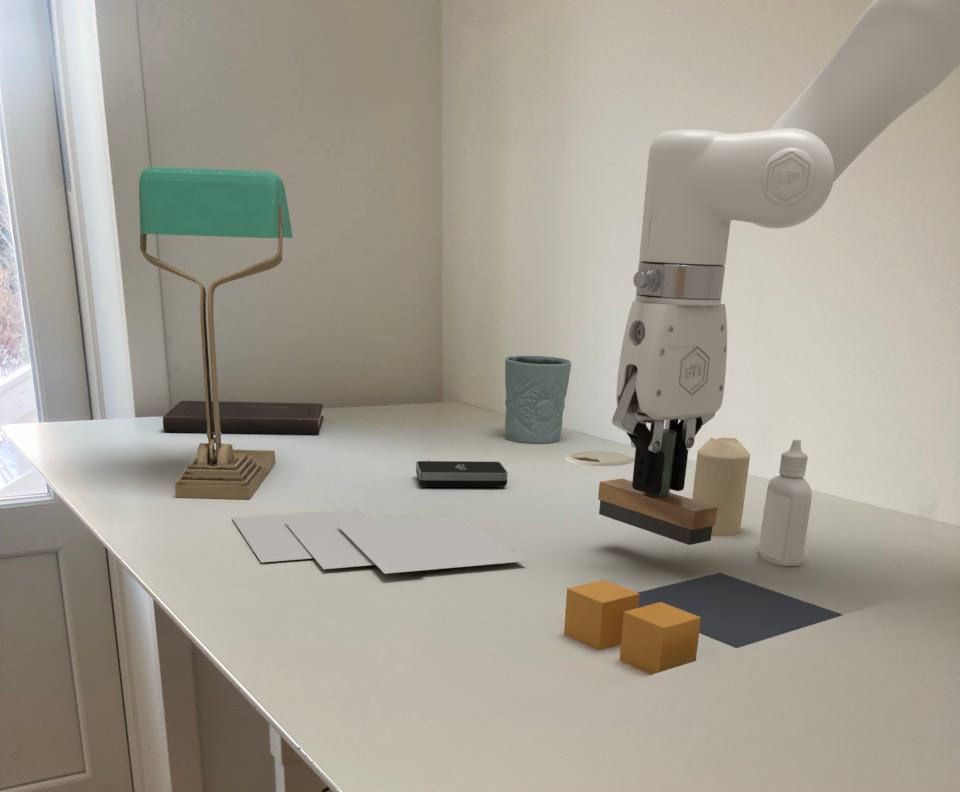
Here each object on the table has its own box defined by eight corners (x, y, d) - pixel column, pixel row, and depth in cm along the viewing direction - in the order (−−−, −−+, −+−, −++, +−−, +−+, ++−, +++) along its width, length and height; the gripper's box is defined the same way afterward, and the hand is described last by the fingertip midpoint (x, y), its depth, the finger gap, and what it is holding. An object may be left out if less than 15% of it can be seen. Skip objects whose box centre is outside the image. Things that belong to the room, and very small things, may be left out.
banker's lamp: (143, 496, 118) (113, 161, 105) (185, 459, 137) (164, 172, 124) (281, 499, 118) (268, 166, 105) (304, 462, 138) (295, 177, 125)
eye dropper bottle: (754, 564, 101) (771, 443, 96) (758, 549, 106) (775, 433, 101) (800, 570, 100) (820, 447, 95) (802, 555, 105) (821, 437, 100)
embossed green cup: (517, 430, 166) (521, 353, 161) (576, 437, 162) (581, 359, 157) (490, 439, 157) (493, 359, 153) (551, 447, 153) (556, 365, 149)
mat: (719, 574, 98) (719, 572, 98) (889, 632, 84) (889, 630, 84) (613, 600, 90) (613, 598, 90) (782, 668, 76) (783, 666, 76)
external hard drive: (415, 476, 132) (415, 460, 131) (500, 476, 134) (501, 461, 133) (419, 488, 126) (419, 472, 125) (508, 489, 127) (509, 473, 126)
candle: (730, 540, 109) (742, 446, 105) (681, 531, 112) (691, 439, 108) (746, 529, 113) (758, 438, 110) (699, 520, 116) (709, 432, 112)
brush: (619, 510, 104) (628, 418, 101) (713, 541, 96) (727, 441, 92) (596, 514, 103) (605, 420, 99) (690, 546, 94) (703, 444, 90)
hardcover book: (181, 414, 168) (180, 400, 167) (323, 417, 171) (323, 403, 170) (163, 432, 154) (162, 417, 153) (318, 435, 156) (318, 420, 155)
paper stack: (279, 590, 89) (279, 582, 88) (231, 517, 110) (231, 511, 110) (525, 567, 97) (526, 560, 97) (436, 504, 118) (436, 498, 118)
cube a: (655, 650, 79) (661, 601, 78) (695, 667, 76) (701, 617, 75) (618, 661, 77) (623, 611, 75) (658, 679, 74) (663, 627, 72)
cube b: (600, 626, 83) (603, 579, 82) (635, 641, 81) (640, 593, 79) (563, 635, 81) (566, 588, 80) (598, 652, 78) (602, 602, 77)
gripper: (646, 288, 83) (625, 509, 90) (771, 289, 93) (743, 489, 100) (583, 282, 89) (568, 491, 96) (707, 283, 98) (685, 473, 105)
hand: (657, 488), depth 98 cm, fingers closed on brush, 2 cm apart
